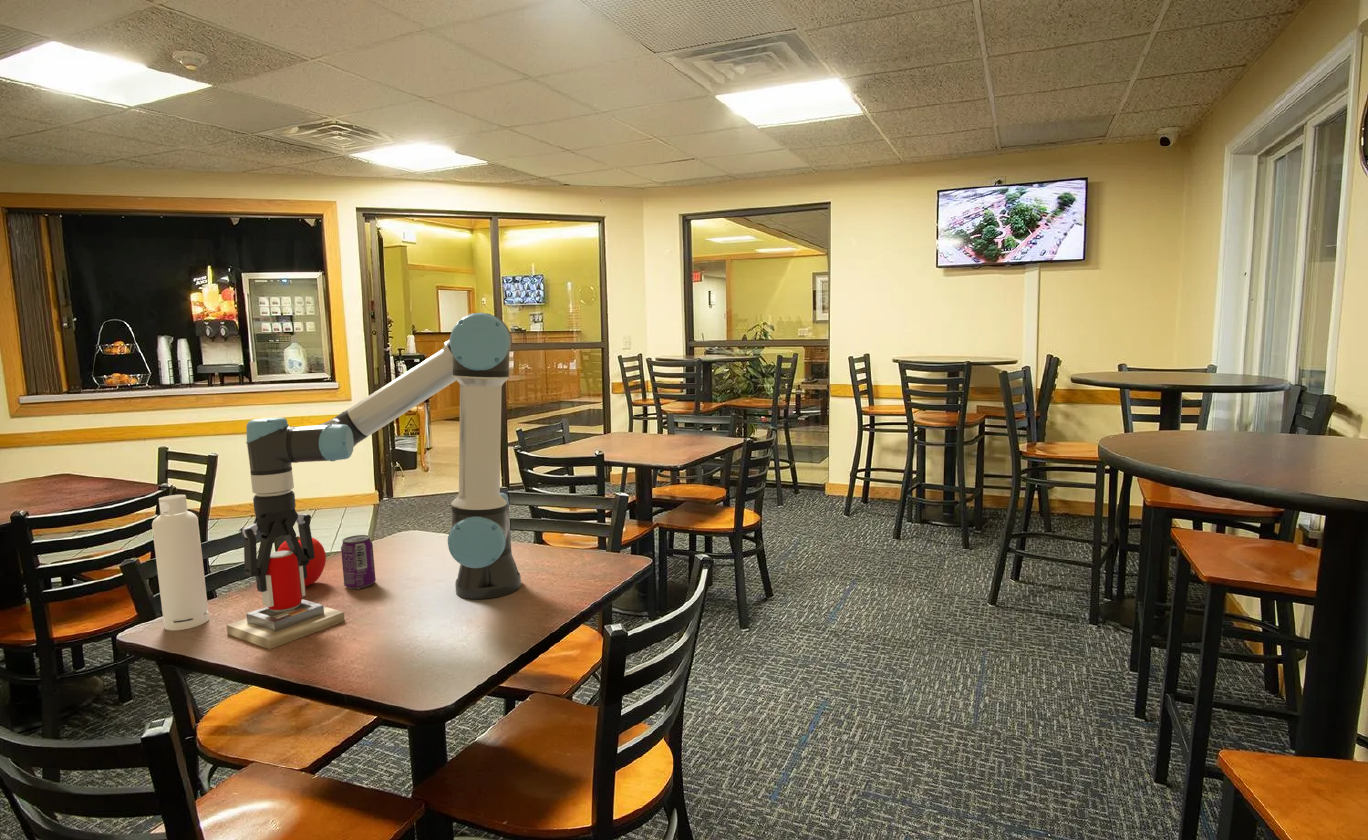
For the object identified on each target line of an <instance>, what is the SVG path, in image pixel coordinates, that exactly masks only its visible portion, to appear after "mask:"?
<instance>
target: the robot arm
mask: <svg viewBox="0 0 1368 840" xmlns="http://www.w3.org/2000/svg"><path fill="white" fill-rule="evenodd" d="M512 346H513V339H512V333H511V331H510V329H509V327H508V326H507V324H506V323H505V322H504V321H503V320H501V319H500V318H498V317H497V316H496V315H493V314H491V313H487V312H486V313H484V312H473V313H470V314H467V315H465V316H462V318H460V319H459V320H458V321H457V322H456V323H455V325H454V326H453V328H452V330H451V333H450V335H449V339H448V340H446V341H445V342H444V345H443V348H442V349H440V350H439V351H437V352H435V353H434V354H432V355H430V357H428V358H426V359H425V360H423V361H422V362H420V363H418V364H417V365H415V366H414V367H412V368H410V369H409V370H407V371H406V372H404V373H402V374H401V375H399V376H397V377H396V378H394V379H393V380H391V381H390V382H388V383H386V385H384V386H382V387H380V388H379V389H377V390H376V391H373V393H370V394H369V395H368V396H366V397H365V398H363V399H362V400H360V401H358V402H357V403H355V404H353V405H352V406H351V407H349V408H348V409H346V410H343V411H342V412H341V413H339V414H338V415H336V416H335V417H333V418H331V419H329V420H328V421H325V422H323V423H319V424H316V425H314V424H313V425H303V426H301V425H300V426H290V425H289V423H288V420H287V418H286V417H280V416H278V417H276V416H275V417H274V416H273V417H271V416H270V417H261V418H255V419H251V420H249V421H248V422H247V423H246V429H245V430H246V441H245V442H246V445H247V456H248V462H249V469H250V481H251V490H252V493H253V494H255V495H254V496H253V497H252V501H253V511H254V513H255V519H254V521H253V524H251V525H249V526H247V527H243V526H242V527H241V528H240V534H241V536H242V539H243V557H244V558H243V559H244V574H245V575H247V576H250V577H255V581H256V582H255V583H256V589H257V591H258V592H260V593H261V599H262V605H263V606H265V607H267V606H268V607H272V606H274V603H273V593H272V583H271V575H267V569H268V564H269V559H270V555H271V553H272V549H273V545H274V543H275V542H276V541H275V540H276V539H277V538H279V537H283V539H284V541H286V543H287V545H288V547H289V549H290V551H292V552H293V553H294V554H295V555H296V557H297V559H298V569H299V579H300V589H301V597H305V596H307V595H306V586H305V584H304V579H306V578H307V568H306V565H308V564H309V560H312V559H314V558H315V554H314V548H313V542H312V538H313V536H312V532H311V520H312V516H311V515H310V514H307V513H300V514H298V512H297V511H296V506H297V505H296V496H295V495H296V494H295V492H294V491H293V489H294V488H295V484H294V476H293V467H292V463H293V464H296V463H297V464H298V463H306V462H307V463H310V462H311V463H312V462H327V461H328V462H329V461H330V462H335V461H341V460H348V459H350V458H351V457H352V455H353V452H354V447H355V446H357V444H359V443H360V442H362V441H364V440H365V439H366V438H368V437H370V436H371V435H373V434H374V433H375V432H377V431H379V430H380V429H382V428H384V427H385V426H387V425H388V424H390V423H392V422H393V421H394V420H396V419H397V418H399V417H401V416H402V415H404V414H406V413H407V412H409V411H410V410H412V409H414V408H415V407H417V406H419V404H422V403H424V402H425V401H426V400H428V399H429V398H431V397H433V396H434V395H435V394H438V393H439V392H440V391H442V390H444V389H446V387H448V386H449V385H451V384H453V383H455V382H457V383H458V384H459V439H458V441H459V443H458V444H459V451H458V453H459V454H458V455H459V456H458V495H457V496H456V497H455V498H454V500H452V501H451V504H450V507H451V509H450V510H451V511H450V530H449V532H448V536H447V548H448V550H449V553H450V555H451V557H452V558H453V559H454V560H455V561H456V562H457V563H458V564H459V570H458V573H457V578H456V580H455V593H456V595H457V596H458V597H460V598H464V599H469V600H470V599H471V600H482V599H483V600H485V599H486V600H487V599H492V598H497V597H503V596H506V595H508V594H509V595H510V594H512V593H513V592H515V591H517V590H519V589H520V588H521V587H522V579H521V578H522V576H521V574H520V572H519V570H518V567H517V564H516V562H515V559H514V556H513V553H512V551H513V550H512V537H511V523H510V508H509V507H510V502H509V496H508V494H506V493H505V492H500V491H501V490H500V489H501V440H502V438H501V437H502V434H501V433H502V386H503V385H504V383H506V382H507V380H508V379H509V378H510V353H511V352H510V351H511V348H512ZM296 523H297V528H298V534H299V535H298V536H299V537H300V541H301V546H300V544H299V542H298V540H297V538H296V537H297V533H296V531H295V528H294V526H295V525H296ZM257 531H259V532H260V535H259V536H260V537H259V541H260V542H259V549H258V553H257V537H256V535H257V534H258V532H257ZM301 547H302V548H301Z"/></svg>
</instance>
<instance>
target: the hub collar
mask: <svg viewBox="0 0 1368 840" xmlns="http://www.w3.org/2000/svg"><path fill="white" fill-rule="evenodd" d="M301 599H302V598H301ZM324 607H325V606H324V604H320V603H317V602H314V601H310V600H306V599H302V601H301V604H300V605H299V606H298V607H297V608H295V609H294V610H296V611H293V612H291V613H288V615H286V616H283V617H280V618H274V617H273V616H276V615H279V614H282V613H285V612H275V611H272V610H270V609H269V608H268V606H265V607H262V608H259V609H255V610H252V611H249V612H247V613H246V618H247V623H250V624H253V625H256V626H259V627H262V628H265V629H268V630H271V631H274V632H276V631H279V630H282V629H285V628H287V627H290V626H293V625H296V624H298V623H301V622H304V621H307V620H309V619H312V618H315V617H318V616H321V615H323V614H324Z"/></svg>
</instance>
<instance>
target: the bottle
mask: <svg viewBox="0 0 1368 840" xmlns="http://www.w3.org/2000/svg"><path fill="white" fill-rule="evenodd" d="M158 504H159V513H160V515H158V516H156V517H155V518H154V519H153V520H152V523H151V528H152V538H153V544H154V545H153V546H154V553H155V561H156V570H157V579H158V585H159V595H160V603H161V611H162V617H163V626H164V629H165V630H166V631H181V630H187V629H188V630H189V629H192V628H195V627H198V626H202V625H204V624H206V623H207V622H208V621H209V619H210V614H209V613H210V612H209V605H208V603H209V602H208V597H207V596H208V595H207V587H206V578H205V570H204V569H205V568H204V562H203V561H204V560H203V553H202V546H201V545H202V544H201V535H200V526H199V517H198V516H197V515H196V514H195V513H194V512H192V511H189V509H188V502H187V495H186V494H172V495H167V496H166V495H165V496H162V497H159V498H158Z"/></svg>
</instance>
